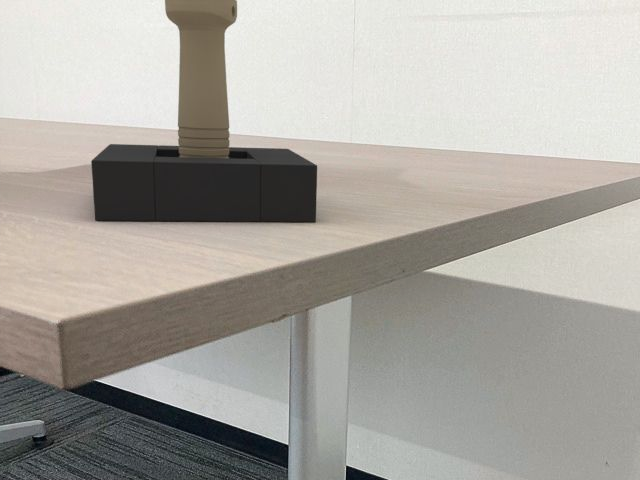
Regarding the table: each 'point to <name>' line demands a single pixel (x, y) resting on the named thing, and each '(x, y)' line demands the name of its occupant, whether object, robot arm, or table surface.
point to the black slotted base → (203, 185)
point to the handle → (202, 75)
